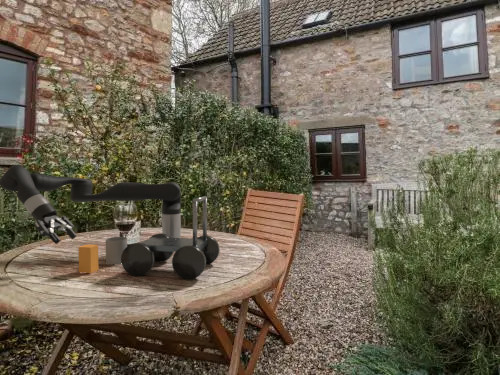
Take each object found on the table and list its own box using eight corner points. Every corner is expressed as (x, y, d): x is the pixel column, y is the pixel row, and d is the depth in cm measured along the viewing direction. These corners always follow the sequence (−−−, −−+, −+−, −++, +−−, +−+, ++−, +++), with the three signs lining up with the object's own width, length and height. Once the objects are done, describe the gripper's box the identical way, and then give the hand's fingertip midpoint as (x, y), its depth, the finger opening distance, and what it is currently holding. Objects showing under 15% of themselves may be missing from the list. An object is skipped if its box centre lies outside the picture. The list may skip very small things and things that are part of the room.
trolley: (121, 275, 120) (120, 197, 119) (148, 259, 141) (148, 194, 140) (204, 280, 115) (204, 199, 113) (219, 264, 136) (219, 195, 134)
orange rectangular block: (78, 273, 122) (78, 247, 122) (86, 269, 126) (86, 244, 126) (90, 274, 121) (90, 247, 121) (98, 270, 126) (98, 245, 125)
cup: (110, 259, 141) (109, 237, 141) (129, 259, 142) (129, 236, 141) (103, 265, 133) (102, 241, 132) (123, 264, 133) (123, 240, 133)
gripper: (48, 213, 133) (73, 242, 132) (18, 217, 119) (46, 250, 118) (60, 200, 132) (85, 230, 131) (31, 204, 118) (58, 237, 117)
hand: (66, 239), depth 124 cm, fingers open, 8 cm apart
